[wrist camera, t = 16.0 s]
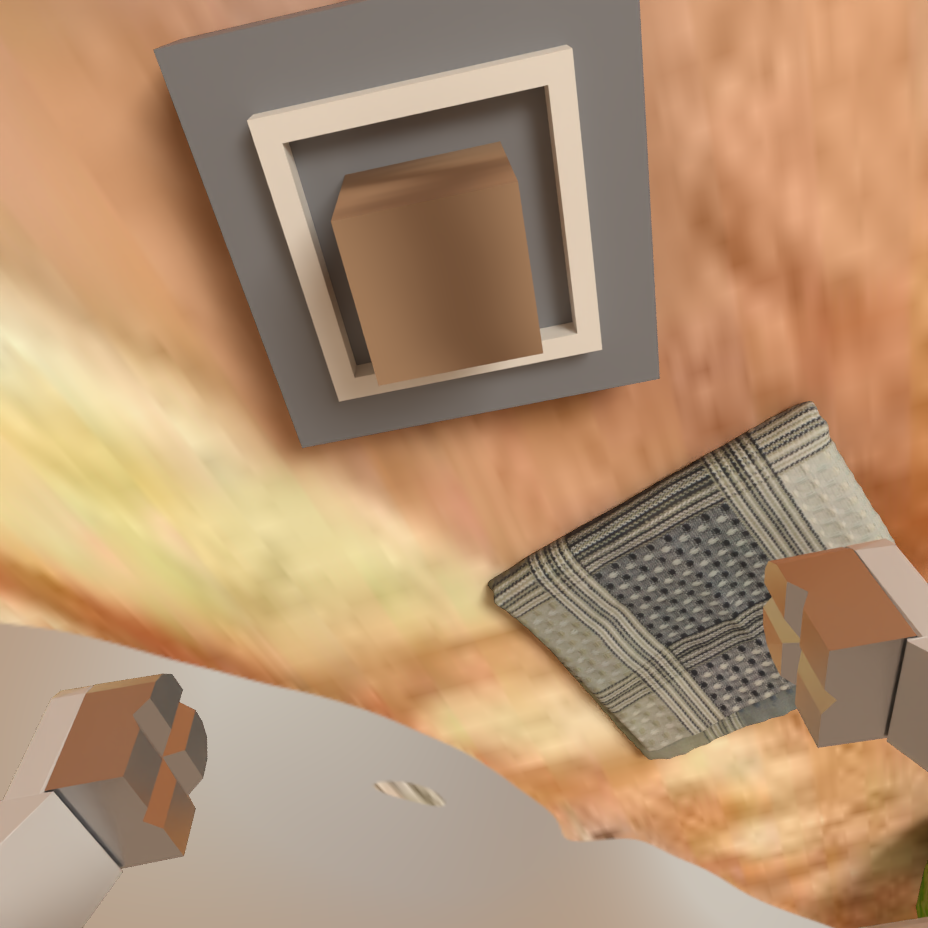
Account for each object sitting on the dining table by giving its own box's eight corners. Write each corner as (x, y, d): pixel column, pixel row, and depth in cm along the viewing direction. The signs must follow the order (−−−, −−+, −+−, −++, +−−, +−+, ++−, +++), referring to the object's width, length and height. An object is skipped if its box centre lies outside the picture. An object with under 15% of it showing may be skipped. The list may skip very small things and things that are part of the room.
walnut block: (384, 318, 27) (378, 385, 23) (345, 174, 24) (330, 221, 20) (523, 290, 27) (543, 352, 23) (500, 141, 24) (518, 181, 20)
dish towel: (474, 573, 39) (479, 620, 36) (806, 383, 34) (840, 420, 31) (646, 747, 48) (660, 794, 45) (929, 618, 42) (964, 663, 40)
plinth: (311, 409, 32) (299, 462, 29) (179, 39, 25) (143, 53, 21) (640, 344, 31) (666, 391, 28) (612, -61, 24) (645, -62, 20)
